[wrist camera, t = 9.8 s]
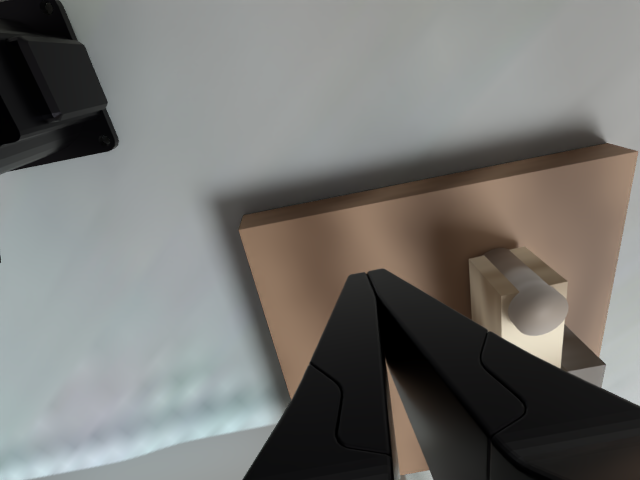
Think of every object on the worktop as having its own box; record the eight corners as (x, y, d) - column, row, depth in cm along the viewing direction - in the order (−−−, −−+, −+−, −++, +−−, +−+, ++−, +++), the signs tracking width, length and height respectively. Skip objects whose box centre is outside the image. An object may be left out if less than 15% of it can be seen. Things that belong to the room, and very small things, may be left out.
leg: (467, 254, 20) (508, 300, 16) (523, 242, 20) (577, 285, 16) (476, 419, 26) (507, 481, 22) (519, 410, 26) (558, 471, 22)
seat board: (317, 464, 30) (322, 543, 25) (243, 215, 21) (227, 264, 16) (565, 419, 30) (619, 490, 25) (607, 143, 20) (709, 170, 15)
